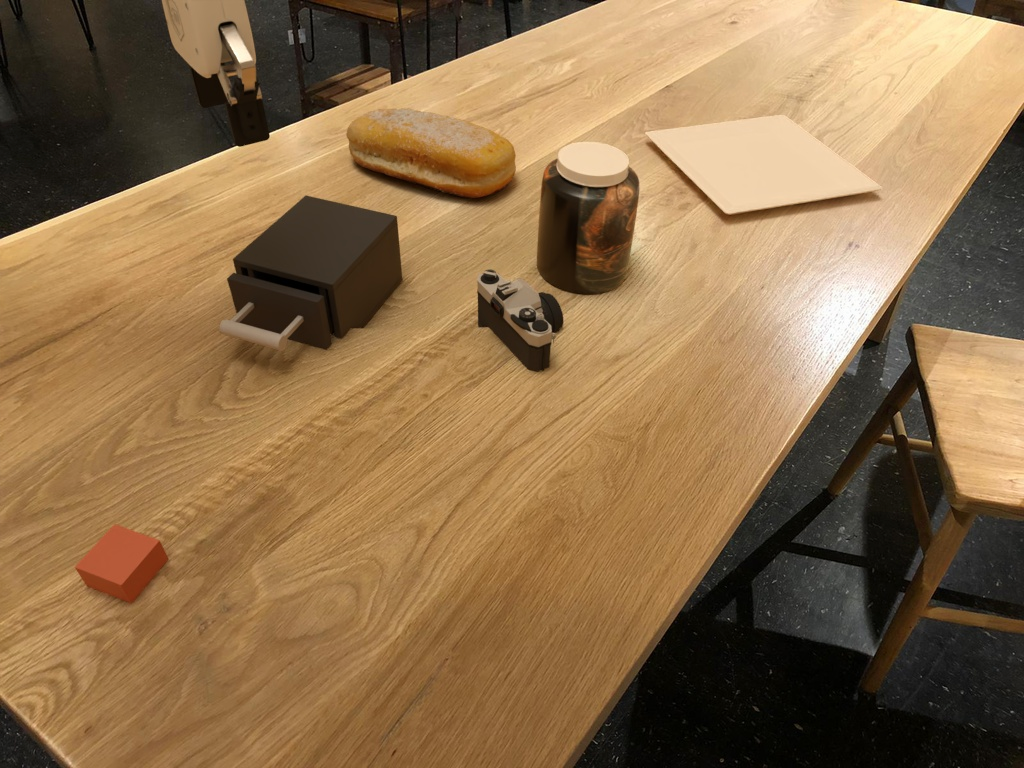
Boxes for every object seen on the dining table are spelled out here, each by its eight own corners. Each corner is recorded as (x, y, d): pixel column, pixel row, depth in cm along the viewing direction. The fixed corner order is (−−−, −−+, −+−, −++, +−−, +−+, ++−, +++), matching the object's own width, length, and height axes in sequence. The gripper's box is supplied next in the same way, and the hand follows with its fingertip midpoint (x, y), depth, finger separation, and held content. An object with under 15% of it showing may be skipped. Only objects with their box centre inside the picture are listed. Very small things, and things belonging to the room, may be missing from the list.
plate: (780, 124, 130) (784, 112, 129) (879, 199, 112) (884, 186, 111) (642, 142, 124) (644, 130, 122) (723, 225, 106) (726, 212, 104)
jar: (522, 280, 95) (527, 169, 85) (553, 234, 103) (561, 127, 93) (613, 303, 92) (630, 191, 82) (638, 254, 100) (656, 146, 90)
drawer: (302, 386, 79) (290, 331, 74) (213, 359, 81) (196, 305, 76) (385, 288, 92) (379, 235, 87) (306, 268, 94) (296, 216, 89)
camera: (590, 365, 84) (595, 295, 78) (532, 391, 80) (533, 320, 75) (522, 311, 92) (522, 244, 87) (467, 332, 89) (463, 264, 83)
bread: (487, 215, 106) (488, 161, 101) (331, 170, 114) (323, 119, 109) (529, 174, 115) (531, 123, 110) (380, 135, 123) (376, 86, 118)
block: (138, 615, 61) (120, 585, 58) (94, 597, 62) (74, 567, 59) (175, 571, 64) (159, 540, 61) (131, 554, 65) (114, 523, 62)
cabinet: (343, 351, 84) (332, 284, 78) (250, 325, 87) (232, 258, 81) (402, 280, 94) (397, 215, 88) (316, 259, 97) (305, 195, 91)
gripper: (108, -100, 65) (167, 99, 76) (169, -52, 54) (226, 169, 66) (197, -109, 68) (240, 83, 80) (270, -65, 58) (307, 148, 69)
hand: (234, 122), depth 73 cm, fingers open, 9 cm apart
